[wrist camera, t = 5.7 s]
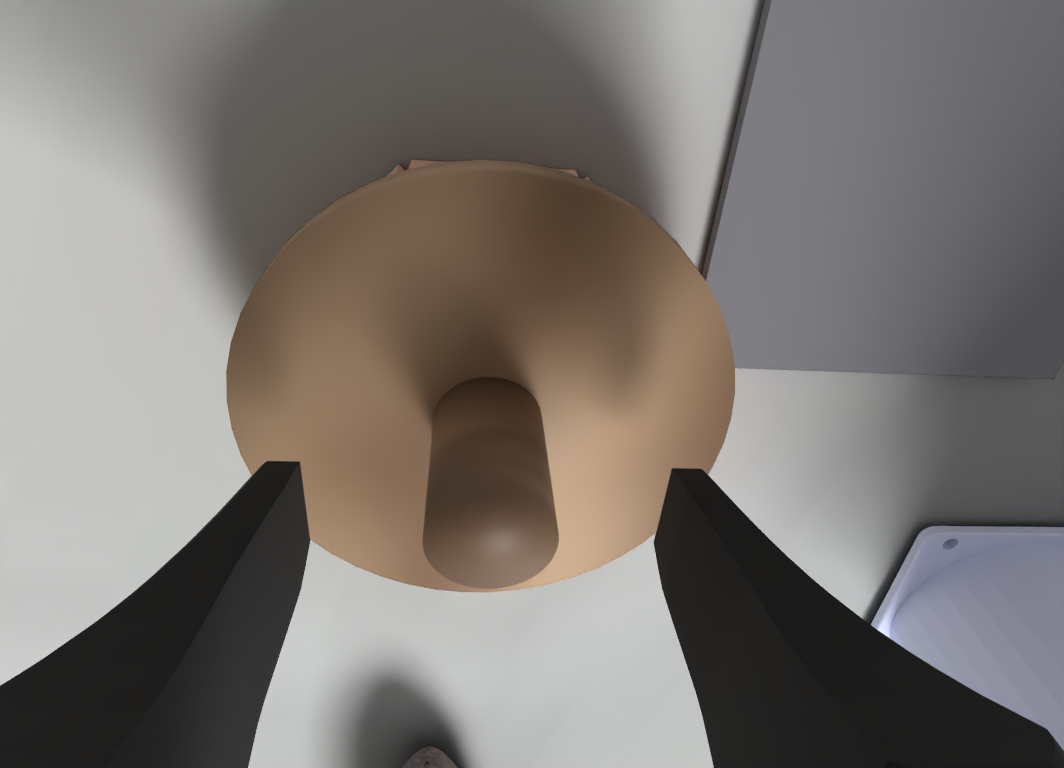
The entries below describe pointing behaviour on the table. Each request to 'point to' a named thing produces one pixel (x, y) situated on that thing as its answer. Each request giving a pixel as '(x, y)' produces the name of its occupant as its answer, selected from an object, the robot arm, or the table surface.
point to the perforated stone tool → (429, 759)
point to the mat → (897, 190)
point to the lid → (481, 374)
